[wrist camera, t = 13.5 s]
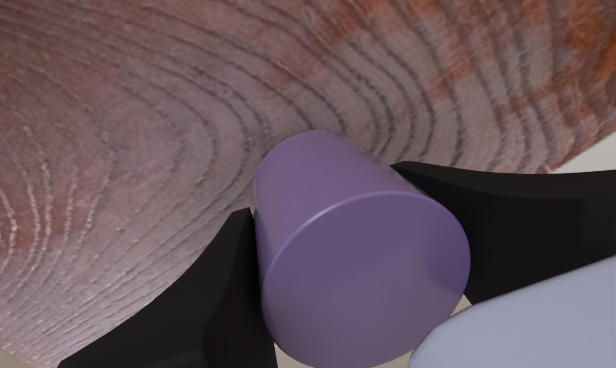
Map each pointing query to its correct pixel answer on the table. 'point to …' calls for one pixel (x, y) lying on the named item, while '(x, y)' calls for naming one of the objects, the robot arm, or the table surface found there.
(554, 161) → the table surface
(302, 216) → the purple round peg
